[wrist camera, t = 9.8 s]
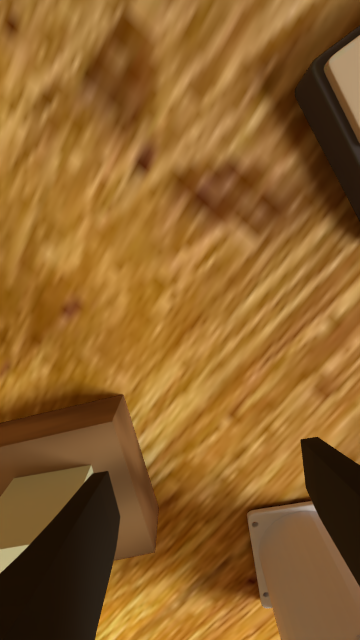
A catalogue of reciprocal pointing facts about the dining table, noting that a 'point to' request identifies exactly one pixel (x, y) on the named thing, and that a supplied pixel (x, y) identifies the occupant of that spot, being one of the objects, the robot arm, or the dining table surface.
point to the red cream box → (336, 110)
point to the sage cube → (34, 507)
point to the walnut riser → (88, 461)
